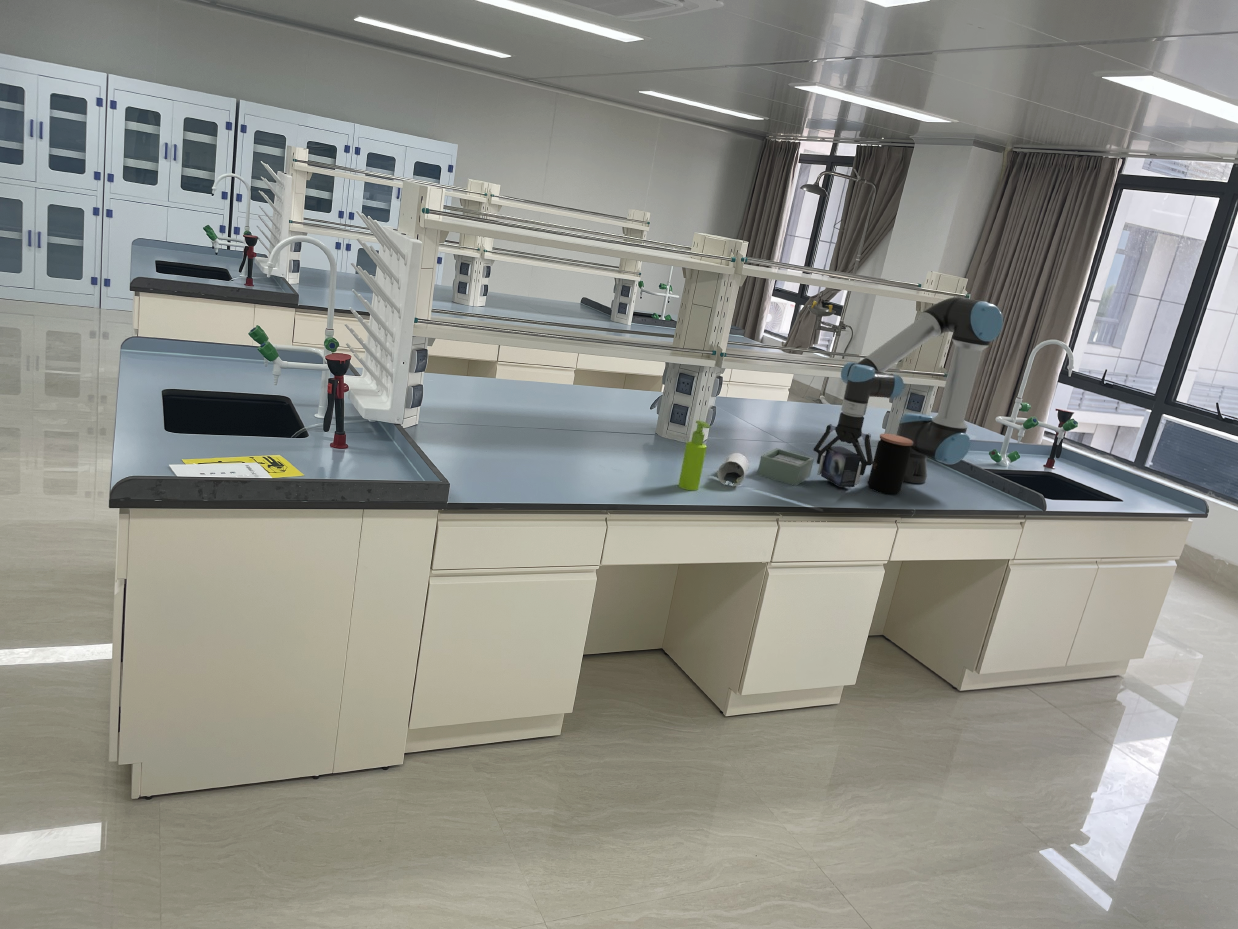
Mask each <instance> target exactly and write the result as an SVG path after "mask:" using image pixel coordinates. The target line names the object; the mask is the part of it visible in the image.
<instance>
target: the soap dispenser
mask: <svg viewBox="0 0 1238 929" xmlns="http://www.w3.org/2000/svg"><path fill="white" fill-rule="evenodd" d="M695 423H696V424H697V426H696V430H694V431H692V436H691V441H687V442H686V445H685V448H684V454H683V460H682V466H681V470H680V475H679V480H678V487H679V488H680V489H682V490H683V489H684V490H687V491H697V490H699V486H700V480H701V477H702V472H703V468H704V467H703V466H704V462H705V456H706V453H707V452H706V451H707V445H706V444H704V440H705V439H704V438H705V433H704V432H703V429H710V428H711V427H710V424H708V422H705V421H702V420H695Z"/></svg>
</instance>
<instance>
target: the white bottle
mask: <svg viewBox="0 0 1238 929" xmlns="http://www.w3.org/2000/svg"><path fill="white" fill-rule="evenodd" d="M749 463H750V462H749V461H748V458H747V457H746V456H744V454H741V453H740V452H733V453H731V454H729V455H728V456H727V458H725V460H724V462H723V463H721V465H720V466H719V467H718V470H716V471H717V478H718V480H719V481H720V483H721V484H722V485H723V486H725V483H726V481H727V480H728V479H725V477H726V476H727V474H730V473H736V474H738V475H739V477H737V478H736V480H735V481H736V482H735V481H732V482H733V483H734V484H733V486H732V487H736V486H739V485H741V484H742V483H743V481H744V479H745V477H746V475H747V472H748V471H749V468H750V467H749V466H750V465H749Z"/></svg>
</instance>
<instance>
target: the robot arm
mask: <svg viewBox="0 0 1238 929" xmlns="http://www.w3.org/2000/svg"><path fill="white" fill-rule="evenodd" d="M1003 322H1004V317H1003V313H1002V312H1001V311H1000V308H998V307H997V306H996V305H995V304H993V303H989V302H988V301H983V300H982V301H981V300H976V299H970V298H966V297H963V296H954V297H948V298H946V299H944V300H941V301H939V302H937V303H935V304H932V305H931V306H930V307H928V308H927V309H925V310H924V311H922V312H921V313H920V314H919V315H918V319H916V320H915V321H914V322H913V323H911V324H910V325H908V326H906V328H904V329H903V330H901V331H900V332H898V333H897V334H895V336H893V337H891V338H890V339H888V340H887V341H886V342H884V343H883V344H882V345H881V346H879V347H877V349H875V350H874V351H872V352H871V353H869V354H868V355H866V356H865V357H864V358H863V359H861V360H860V361H858V362H856V361H855V362H853V361H852V362H847V363H845V364H844V365H843V367H842V369H841V371H840V378H841V380H842V382H843V383H844V384H846V385H845V391H844V396H843V400H842V404H841V408H840V410H841V412H839V416H838V422H837V425H833V424H831V423H830V424H828V425H827V426H826V429H825V432H824V433H823V434H822V436H821V437H820V439H819V440H818V442H817V443H816V444H815V446H814V447H813V449H812V450H813V452H816V453H817V458H816V464H817V465H818V469H817V473H816V474H817V475H818V476H821V473H822V469H823V464H824V459H825V455H826V450H827V449H829V448H830V447H831V446H834V445H835V444H836V443H837V442H838V441H840V442H841V443H847V444H852V446H853V447H854V448H853V449H854V450H855V453H856V454H857V455H858V456H860V463H859V467H858V471H857V475H856V480H855V484H854V485H855V486H858V485H859V482H860V479H861V476H864V475H865V472H866V468H867V466H869V467H870V466H872V464H873V460H874V457H873V454H872V446H871V436H872V435H871V433H865V432H863V431H862V429H863V426H864V420H865V417H864V416H865V415H866V414H867V412H866V411H867V409H868V403H869V399H870V397H873V398H884V399H885V398H886V399H893V398H898V397H900V396H901V394H902V393H903V390H904V387H905V384H904V383H905V382H904V379H903V377H901V376H900V375H899V374H894V373H885V372H886V371H887V370H889V369H890V368H891V367H893V366H894V365H896V364H897V363H898V362H900V361H902V360H903V358H905V357H907V356H908V355H909V354H911V353H912V352H914V351H915V350H916V349H918V348H919V347H920V346H922V345H923V344H925V343H926V342H928V341H929V340H930V339H931V338H938V337H939V336H941V335H942V334H945V333H949V332H951V333H953V334H952V336H951V341H952V342H953V344H954V348H953V353H952V356H951V361H950V364H949V367H948V373H947V377H946V380H945V384H944V388H943V392H942V395H941V400H940V403H939V408H938V412H937V415H935V416H934V415H927V414H923V413H912V412H906V413H904V414H902V416H901V419H900V422H899V425H898V428H897V429H898V430H897V433H896V435H898V436H901V437H905V438H908V439H910V440H912V441H913V445H911V453H910V457H909V461H908V465H907V468H906V472H905V476H904V479H903V482H906V483H911V484H925V483H926V481H927V479H928V478H927V477H928V473H927V472H928V470H927V457H929V458H930V459H933V460H935V461H936V462H939V463H943V464H945V465H954V464H957V463H959V462H961V460H963V459H964V458H965V457H966V456H967V454H968V453H969V451H970V449H971V444H972V441H971V438H970V436H969V435H968V434H967V429H968V425H967V423H966V422H965V419H966V416H967V415H966V414H967V410H968V408H969V402H970V399H971V395H972V391H973V387H974V384H975V381H976V377H977V372H978V370H979V369H978V368H979V365H980V360H981V358H982V354H983V351H984V350H985V349H987V348H988V347H989V346H990V342H991V341H994V340H995V339H996V338H997V337H998V336H999V335H1000V334H1001V333H1002V329H1003V325H1004V323H1003ZM834 431H835V433H836V436H835V437H834V438H833V439H831V440H830V441H829V442H828V443H827V444H826V445H825V446H824V447H822V446H823V444H824V442H825V441H826V440H827V438H828V436H830V434H831V433H832V432H834ZM860 438H862V440H863V441H864V450H865V454H864V451H863V449H862V448H861V445H860V442H859V439H860ZM821 447H822V448H821Z"/></svg>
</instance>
